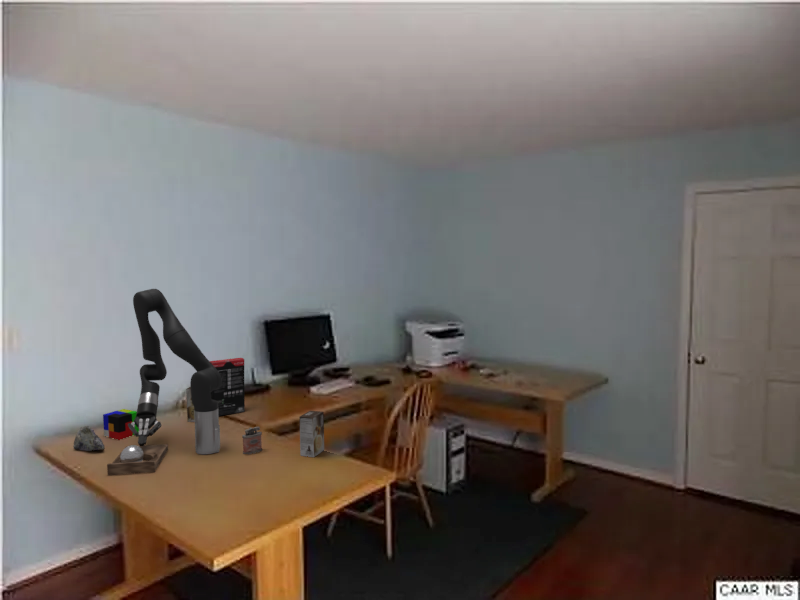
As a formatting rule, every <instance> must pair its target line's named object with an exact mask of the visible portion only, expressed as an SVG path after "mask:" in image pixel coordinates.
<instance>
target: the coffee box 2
mask: <svg viewBox="0 0 800 600" xmlns="http://www.w3.org/2000/svg"><path fill="white" fill-rule="evenodd" d="M324 415H325V414H324V411H320V410H319V411H318V410H317V411H316V410H309V411H307V412H305V413H304V414H301V415H300V416H299V444H300V445H299V448H300V450H299V451H300V452H299V453H300V454H299V455H300V456H301V457H307V456H308V457H309V458H315V457H316V456H318V455H319V454H321V453H322V452H324V451H325V426H324V425H325V423H324V422H325V419H324V418H325V417H324Z"/></svg>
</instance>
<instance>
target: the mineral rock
mask: <svg viewBox="0 0 800 600" xmlns="http://www.w3.org/2000/svg"><path fill="white" fill-rule="evenodd" d="M72 447H73V449H74V450H79V451H86V452H92V450H93V451H99V450H104V449H105V444H104V442H103V440H102V438H100V437H99V436H98V434H96V432H95V430H94V429H93V428H91V427H89V425H87V426H81V427H80V428H79V429H78V430H77V432H76V434H75V437H74V440H73V446H72Z"/></svg>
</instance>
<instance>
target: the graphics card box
mask: <svg viewBox="0 0 800 600" xmlns="http://www.w3.org/2000/svg"><path fill="white" fill-rule="evenodd" d="M209 361H210V362H211V364H212V365H213V366H214V367H215V368H216V369H217V370H218V372H219V373H220V375H221V378H222V384H221V386H220V387H219V388H218V389H216V390H214V391H211V392H210V394H211V399H212V400H216V401H217V402H218V416H219V417H220V416H229V415H234V414H239V413H244V412H245V408H246V405H245V396H246V395H245V358H243V357H236V358H235V357H234V358H225V359H219V360H209Z"/></svg>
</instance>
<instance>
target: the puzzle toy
mask: <svg viewBox="0 0 800 600" xmlns="http://www.w3.org/2000/svg"><path fill="white" fill-rule="evenodd" d="M136 414H137V410H133V409H132V410H131V409H125V408H122V409H118V410H114V411H111V412H107V413H104V414H102V421H103V437H104V436H108V437H111V438H110V439H112V438H114V439H113V440H116V439H118V440H117V441H120V439H122V440H124V439H123V438H125V439H127V438H126V437H128V438H130V437H129V436H131V437H133V436H132V435H134V434H133V432H132V431H131V430H130V429H129V427H128V423H132V422H134V419H135V418H136ZM135 430H136V431H137V432H139V428H138V427H137V426H136V424H135ZM134 436H135V435H134Z"/></svg>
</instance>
